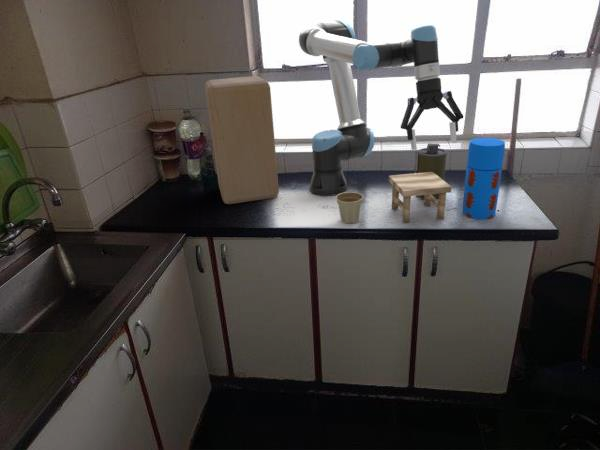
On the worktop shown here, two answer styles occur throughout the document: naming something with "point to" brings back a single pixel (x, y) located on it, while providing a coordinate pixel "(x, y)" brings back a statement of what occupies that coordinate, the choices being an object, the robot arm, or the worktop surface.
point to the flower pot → (349, 206)
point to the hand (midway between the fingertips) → (434, 146)
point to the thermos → (483, 177)
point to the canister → (431, 162)
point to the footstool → (418, 192)
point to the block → (243, 138)
